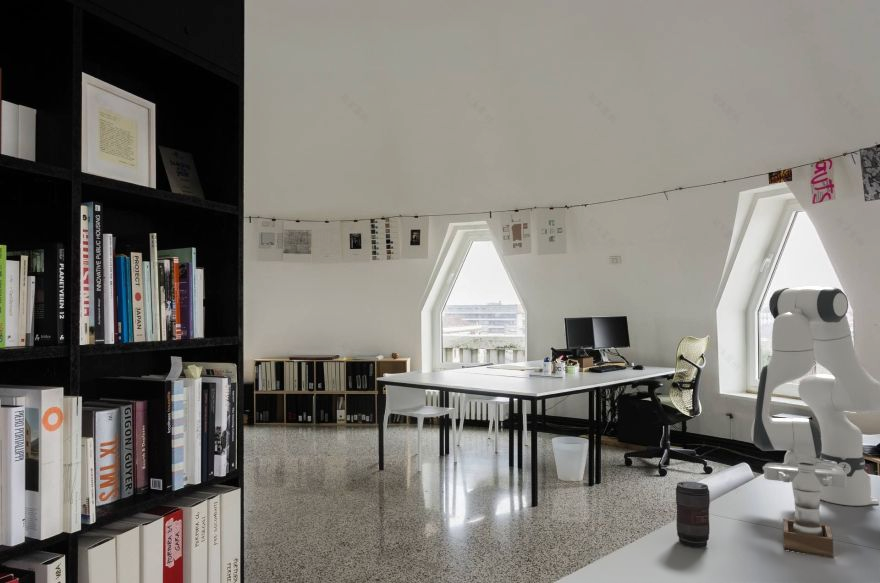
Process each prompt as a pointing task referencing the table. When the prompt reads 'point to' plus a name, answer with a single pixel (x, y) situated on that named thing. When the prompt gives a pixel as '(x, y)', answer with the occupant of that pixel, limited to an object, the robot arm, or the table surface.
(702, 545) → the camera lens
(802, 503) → the plastic bottle
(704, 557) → the table surface
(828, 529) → the open wooden box
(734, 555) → the table surface
